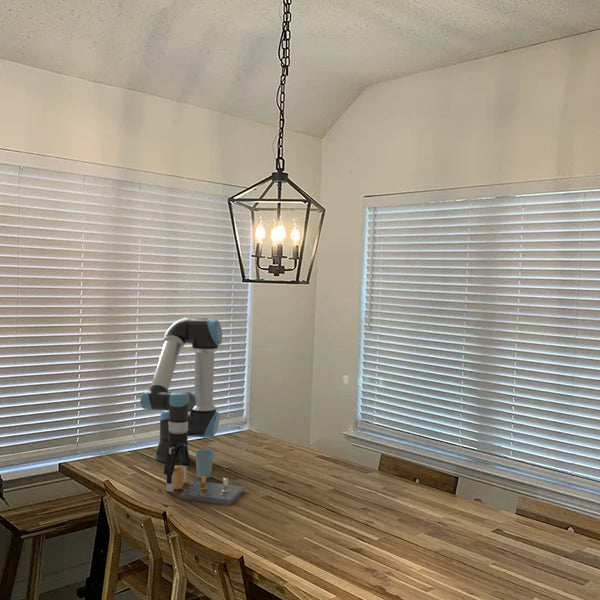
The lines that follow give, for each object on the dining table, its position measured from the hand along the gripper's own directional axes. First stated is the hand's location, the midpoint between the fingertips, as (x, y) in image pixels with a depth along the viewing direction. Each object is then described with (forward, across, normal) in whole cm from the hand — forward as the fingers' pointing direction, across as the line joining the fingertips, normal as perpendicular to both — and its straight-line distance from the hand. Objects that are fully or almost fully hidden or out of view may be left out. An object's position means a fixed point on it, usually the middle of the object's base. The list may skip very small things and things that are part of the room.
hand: (176, 486), depth 248 cm
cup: (0, -16, +5) cm, 17 cm away
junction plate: (0, +4, +17) cm, 17 cm away
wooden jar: (0, 0, 0) cm, 0 cm away
